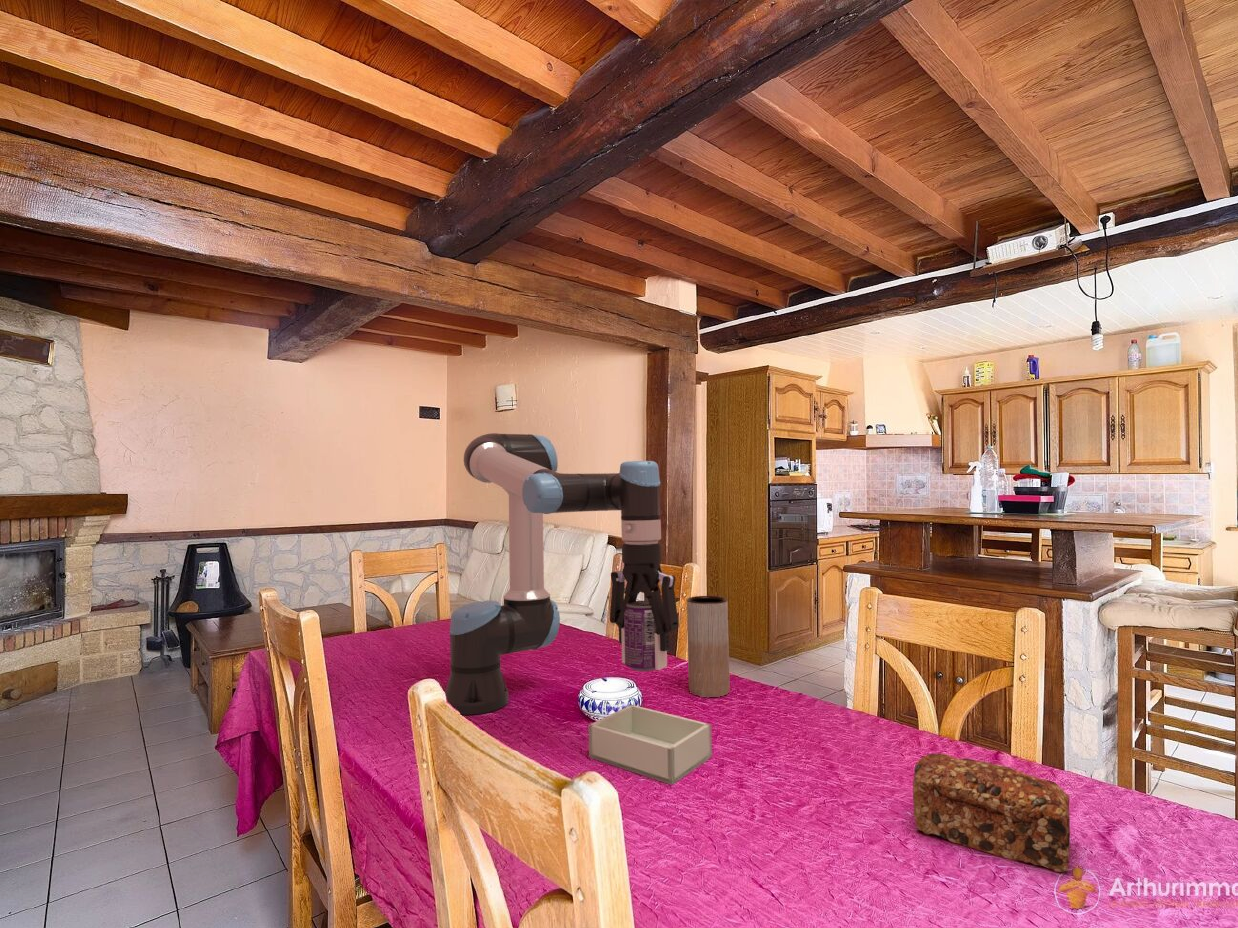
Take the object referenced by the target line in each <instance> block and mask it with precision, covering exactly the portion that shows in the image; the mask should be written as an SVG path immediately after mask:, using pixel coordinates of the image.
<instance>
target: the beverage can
mask: <svg viewBox="0 0 1238 928" xmlns="http://www.w3.org/2000/svg"><path fill="white" fill-rule="evenodd" d="M626 606H627V608H626V610H625V612H624V636H625V663H624V664H625V666H626V667H627V668H629V669H630V670H632V671H637V672H653V671H655V670H656V669H655V636H654V634H655V633H656V632H658V629H657V626H656V623H655V620H654V616H653V613H652V610H651V606H650V604H649V601H648V600H636V601H635V602H633V603H631V604H630V603H627V604H626Z"/></svg>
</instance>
